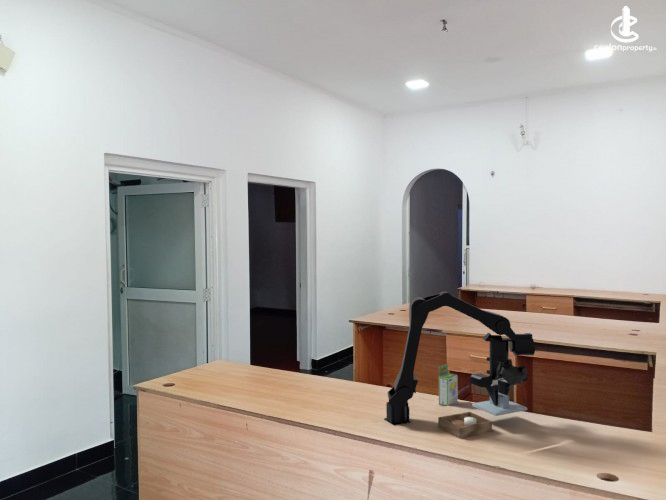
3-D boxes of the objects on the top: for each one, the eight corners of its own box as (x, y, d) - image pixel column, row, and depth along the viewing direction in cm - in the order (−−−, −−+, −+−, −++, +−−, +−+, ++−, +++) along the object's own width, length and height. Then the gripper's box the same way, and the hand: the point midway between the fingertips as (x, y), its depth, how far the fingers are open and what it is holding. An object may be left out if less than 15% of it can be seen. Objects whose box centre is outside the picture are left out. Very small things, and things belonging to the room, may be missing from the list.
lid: (495, 416, 154) (495, 401, 154) (471, 406, 164) (471, 392, 164) (527, 410, 160) (527, 396, 160) (502, 400, 169) (502, 387, 169)
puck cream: (469, 430, 155) (469, 421, 155) (461, 426, 158) (461, 418, 158) (478, 428, 156) (478, 419, 156) (471, 424, 159) (471, 416, 159)
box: (459, 440, 148) (459, 427, 148) (438, 428, 157) (438, 417, 157) (491, 433, 154) (491, 421, 153) (469, 422, 163) (469, 411, 163)
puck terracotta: (457, 433, 152) (457, 424, 152) (449, 429, 155) (449, 421, 155) (466, 431, 154) (466, 422, 154) (459, 427, 157) (459, 419, 157)
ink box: (448, 407, 178) (448, 368, 178) (438, 405, 180) (438, 366, 180) (458, 402, 183) (457, 364, 183) (447, 400, 186) (447, 363, 186)
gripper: (494, 363, 150) (494, 417, 151) (541, 357, 158) (541, 408, 158) (468, 356, 160) (468, 406, 161) (514, 350, 168) (514, 398, 169)
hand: (499, 404), depth 162 cm, fingers closed on lid, 2 cm apart
